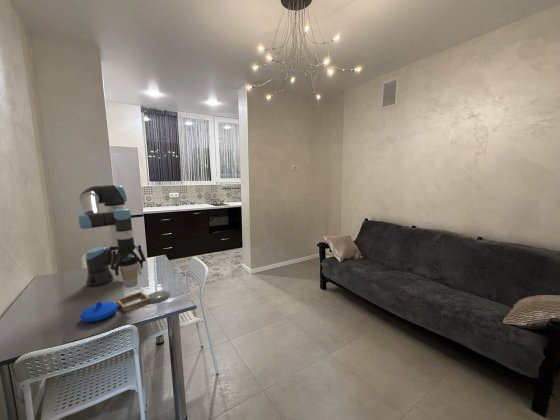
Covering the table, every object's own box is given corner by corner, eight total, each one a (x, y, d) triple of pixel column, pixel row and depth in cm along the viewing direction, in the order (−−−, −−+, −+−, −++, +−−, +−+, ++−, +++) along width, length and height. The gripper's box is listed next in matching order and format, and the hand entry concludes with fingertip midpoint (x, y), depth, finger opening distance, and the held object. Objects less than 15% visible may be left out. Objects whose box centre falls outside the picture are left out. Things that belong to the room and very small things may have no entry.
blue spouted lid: (99, 307, 135) (97, 295, 134) (125, 308, 134) (124, 296, 132) (72, 325, 120) (69, 311, 119) (102, 326, 118) (100, 312, 117)
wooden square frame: (116, 304, 138) (116, 300, 137) (141, 295, 147) (141, 291, 147) (124, 312, 129) (124, 307, 129) (150, 302, 139) (150, 298, 138)
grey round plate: (140, 298, 143) (140, 297, 143) (163, 290, 153) (163, 289, 153) (149, 306, 135) (149, 304, 135) (173, 296, 144) (173, 295, 144)
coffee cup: (132, 289, 132) (128, 263, 129) (117, 288, 133) (113, 262, 131) (145, 282, 141) (142, 256, 138) (130, 280, 143) (127, 255, 140)
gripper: (102, 244, 122) (108, 286, 126) (149, 234, 138) (154, 272, 142) (98, 241, 127) (104, 282, 131) (144, 232, 143) (148, 269, 147)
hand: (130, 277), depth 136 cm, fingers closed on coffee cup, 9 cm apart
